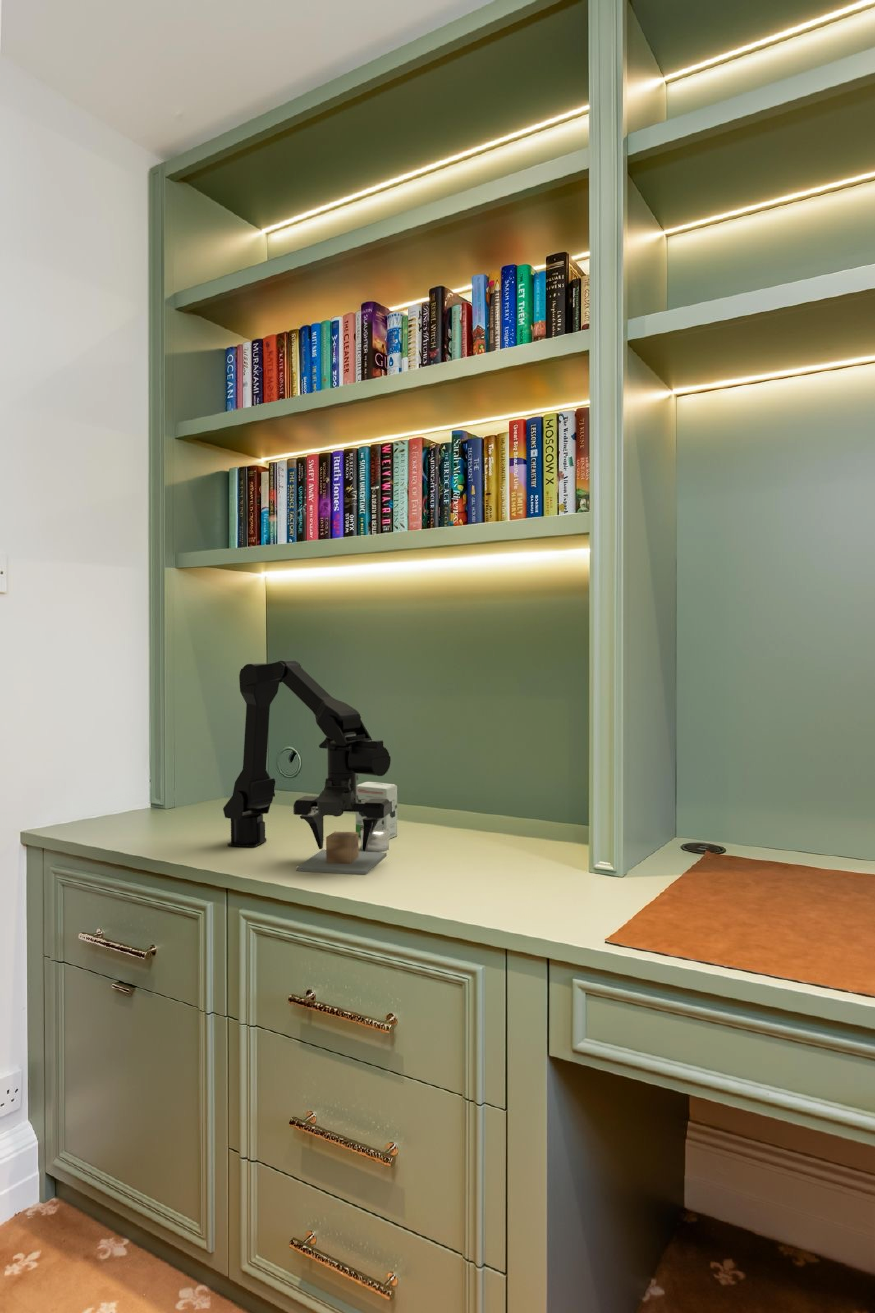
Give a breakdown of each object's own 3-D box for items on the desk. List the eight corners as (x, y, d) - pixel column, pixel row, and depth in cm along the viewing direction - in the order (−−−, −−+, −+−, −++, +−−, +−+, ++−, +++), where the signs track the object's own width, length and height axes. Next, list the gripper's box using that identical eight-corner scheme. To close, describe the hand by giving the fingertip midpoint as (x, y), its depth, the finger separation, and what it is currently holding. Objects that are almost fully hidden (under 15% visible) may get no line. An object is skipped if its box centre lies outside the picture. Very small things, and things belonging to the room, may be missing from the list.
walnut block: (326, 862, 157) (326, 837, 157) (335, 856, 162) (334, 831, 162) (350, 863, 156) (350, 838, 156) (358, 857, 161) (358, 832, 161)
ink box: (354, 836, 181) (353, 784, 181) (366, 832, 186) (365, 781, 186) (387, 840, 177) (386, 787, 177) (398, 835, 182) (398, 783, 181)
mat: (296, 870, 154) (296, 867, 154) (322, 852, 167) (322, 849, 167) (365, 874, 151) (365, 871, 151) (386, 855, 164) (386, 852, 164)
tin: (357, 852, 168) (356, 833, 168) (365, 845, 174) (365, 826, 174) (384, 853, 166) (384, 834, 166) (392, 846, 172) (392, 828, 172)
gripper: (281, 777, 153) (282, 858, 153) (375, 779, 149) (375, 863, 149) (303, 768, 164) (304, 844, 164) (391, 770, 160) (392, 848, 160)
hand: (342, 849), depth 159 cm, fingers open, 9 cm apart
